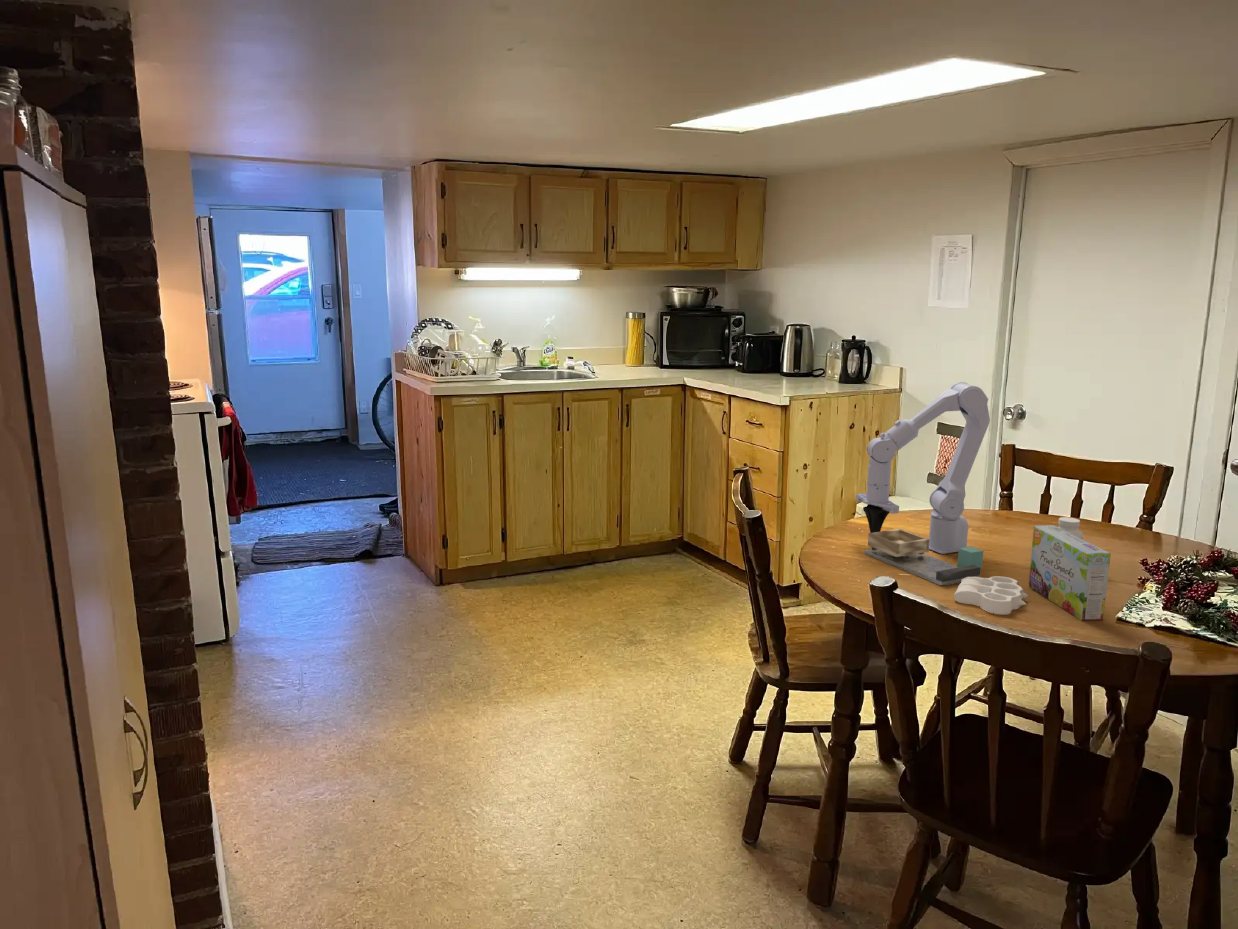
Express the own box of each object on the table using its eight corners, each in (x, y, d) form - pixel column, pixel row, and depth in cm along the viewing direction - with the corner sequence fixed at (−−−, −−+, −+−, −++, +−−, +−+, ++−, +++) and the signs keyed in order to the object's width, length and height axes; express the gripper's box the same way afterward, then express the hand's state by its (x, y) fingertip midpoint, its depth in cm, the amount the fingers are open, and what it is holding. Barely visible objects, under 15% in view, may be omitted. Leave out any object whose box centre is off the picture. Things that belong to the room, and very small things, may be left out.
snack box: (1025, 587, 204) (1032, 524, 201) (1048, 586, 205) (1055, 524, 202) (1079, 621, 184) (1088, 552, 181) (1105, 621, 184) (1114, 552, 181)
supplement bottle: (1082, 575, 213) (1088, 524, 210) (1052, 573, 214) (1058, 522, 211) (1074, 566, 219) (1080, 516, 217) (1045, 564, 221) (1051, 515, 218)
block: (969, 565, 220) (970, 546, 218) (981, 570, 216) (983, 550, 215) (957, 567, 218) (958, 548, 217) (969, 572, 214) (971, 552, 213)
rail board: (900, 548, 233) (900, 537, 232) (979, 579, 209) (980, 567, 208) (864, 553, 228) (865, 542, 227) (941, 586, 204) (942, 574, 203)
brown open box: (898, 544, 232) (900, 528, 231) (928, 555, 223) (929, 539, 222) (867, 548, 228) (868, 533, 227) (895, 560, 219) (897, 544, 218)
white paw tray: (963, 584, 207) (1030, 594, 200) (950, 608, 192) (1023, 620, 185) (964, 570, 207) (1032, 580, 200) (952, 593, 191) (1025, 605, 184)
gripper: (848, 479, 235) (845, 528, 238) (885, 491, 222) (881, 542, 225) (869, 477, 238) (865, 525, 240) (906, 488, 225) (903, 539, 228)
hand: (874, 533), depth 233 cm, fingers closed
